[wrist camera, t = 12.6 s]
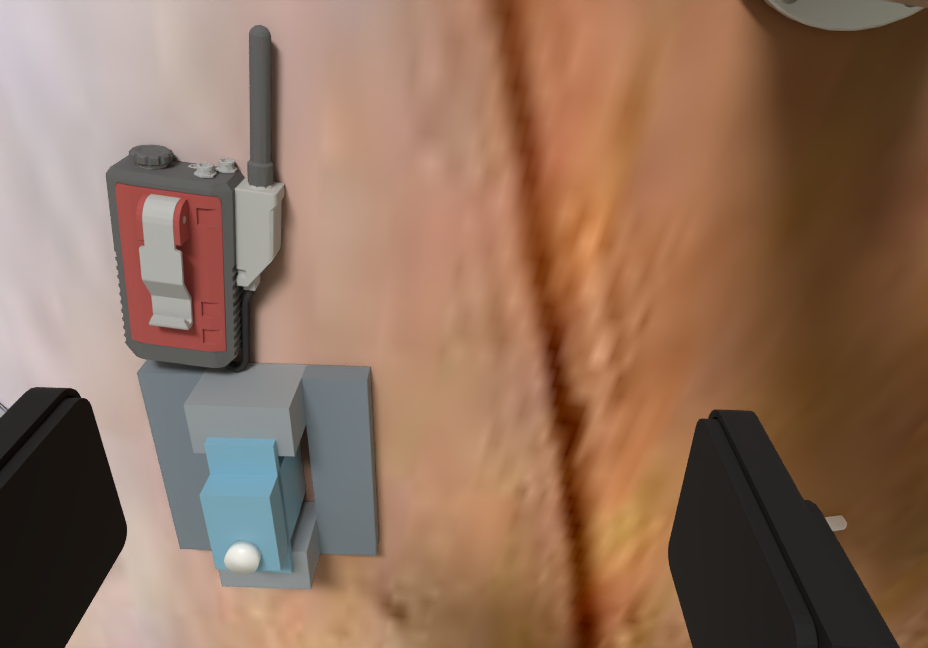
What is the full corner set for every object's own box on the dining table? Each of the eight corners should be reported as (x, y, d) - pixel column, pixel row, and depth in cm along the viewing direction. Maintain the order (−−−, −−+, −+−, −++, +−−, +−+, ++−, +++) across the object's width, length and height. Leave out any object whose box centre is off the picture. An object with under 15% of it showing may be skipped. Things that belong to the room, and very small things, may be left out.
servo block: (294, 394, 45) (260, 476, 38) (308, 514, 50) (281, 606, 43) (232, 392, 45) (187, 474, 38) (253, 513, 50) (217, 604, 43)
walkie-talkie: (284, 363, 44) (289, 25, 34) (265, 404, 40) (266, 37, 31) (143, 345, 44) (108, -3, 34) (111, 385, 40) (61, 6, 30)
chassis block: (370, 366, 44) (359, 410, 40) (379, 539, 51) (370, 591, 47) (147, 359, 44) (113, 402, 40) (187, 533, 51) (162, 584, 47)
